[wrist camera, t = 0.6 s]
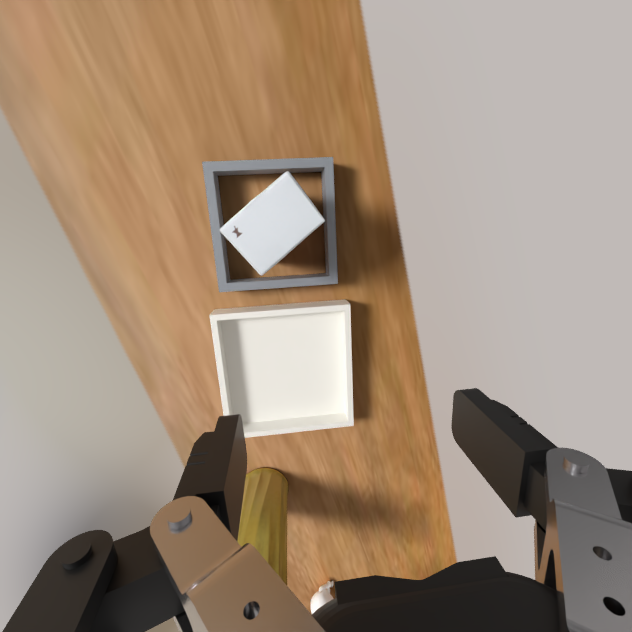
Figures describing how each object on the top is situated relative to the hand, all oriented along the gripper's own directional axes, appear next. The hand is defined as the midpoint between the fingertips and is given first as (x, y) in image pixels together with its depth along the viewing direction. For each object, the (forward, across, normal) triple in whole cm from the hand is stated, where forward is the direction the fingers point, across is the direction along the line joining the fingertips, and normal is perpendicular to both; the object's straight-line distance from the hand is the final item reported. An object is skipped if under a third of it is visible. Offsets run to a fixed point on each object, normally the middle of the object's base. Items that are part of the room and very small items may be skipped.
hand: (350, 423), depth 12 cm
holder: (+24, +2, -7) cm, 25 cm away
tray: (+24, +3, +8) cm, 25 cm away
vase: (+24, +7, +24) cm, 35 cm away
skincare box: (+25, +2, -7) cm, 26 cm away
